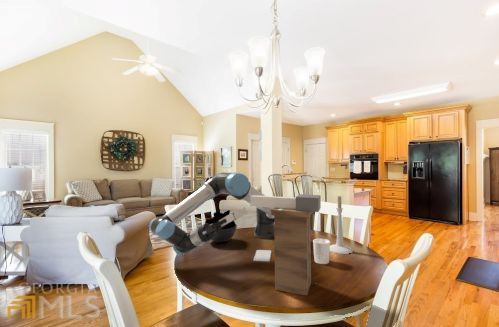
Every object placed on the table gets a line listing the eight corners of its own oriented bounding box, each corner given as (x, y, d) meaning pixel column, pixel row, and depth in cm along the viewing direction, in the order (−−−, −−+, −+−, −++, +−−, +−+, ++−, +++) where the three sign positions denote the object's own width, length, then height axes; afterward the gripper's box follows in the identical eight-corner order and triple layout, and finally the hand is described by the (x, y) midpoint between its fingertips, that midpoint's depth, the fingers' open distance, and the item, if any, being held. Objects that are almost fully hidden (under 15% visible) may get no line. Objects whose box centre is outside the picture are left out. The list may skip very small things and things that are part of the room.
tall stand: (279, 276, 102) (279, 204, 103) (313, 282, 97) (313, 206, 98) (271, 290, 91) (270, 209, 92) (309, 297, 86) (309, 211, 87)
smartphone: (252, 260, 119) (256, 249, 134) (252, 262, 119) (256, 251, 134) (269, 261, 118) (271, 250, 133) (270, 263, 118) (271, 252, 133)
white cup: (318, 257, 124) (318, 237, 124) (333, 261, 118) (332, 240, 118) (310, 261, 118) (309, 240, 119) (325, 266, 113) (324, 244, 113)
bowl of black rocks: (207, 248, 138) (206, 215, 138) (202, 238, 157) (201, 209, 157) (240, 244, 145) (240, 212, 145) (232, 235, 164) (232, 207, 164)
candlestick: (323, 250, 135) (322, 195, 135) (335, 244, 143) (334, 193, 143) (345, 256, 125) (344, 197, 125) (357, 250, 133) (356, 195, 134)
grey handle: (255, 203, 105) (255, 192, 105) (320, 208, 95) (320, 195, 95) (247, 207, 97) (247, 194, 97) (318, 212, 87) (318, 198, 87)
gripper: (219, 234, 120) (254, 215, 113) (189, 251, 97) (231, 228, 90) (213, 220, 121) (247, 201, 115) (181, 234, 98) (222, 210, 92)
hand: (240, 213), depth 102 cm, fingers open, 13 cm apart
